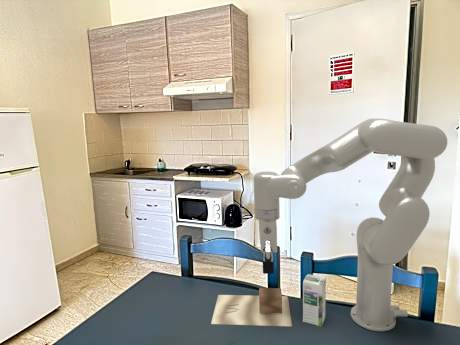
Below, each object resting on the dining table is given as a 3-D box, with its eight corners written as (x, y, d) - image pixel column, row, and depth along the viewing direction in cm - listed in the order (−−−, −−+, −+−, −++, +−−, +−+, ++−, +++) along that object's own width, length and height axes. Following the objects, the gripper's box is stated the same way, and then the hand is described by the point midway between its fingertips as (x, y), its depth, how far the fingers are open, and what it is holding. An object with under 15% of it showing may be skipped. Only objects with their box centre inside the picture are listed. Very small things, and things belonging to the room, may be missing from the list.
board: (287, 300, 110) (287, 296, 110) (291, 330, 94) (291, 326, 94) (218, 298, 112) (218, 294, 112) (211, 328, 97) (211, 323, 96)
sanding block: (281, 305, 104) (281, 288, 103) (282, 314, 100) (282, 296, 98) (259, 304, 105) (259, 288, 104) (259, 314, 100) (259, 296, 99)
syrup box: (302, 326, 96) (302, 281, 94) (307, 315, 101) (307, 272, 99) (321, 331, 93) (322, 285, 91) (325, 320, 99) (326, 276, 96)
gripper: (281, 221, 88) (281, 279, 91) (278, 204, 105) (278, 254, 108) (253, 222, 89) (255, 279, 92) (255, 205, 106) (256, 253, 109)
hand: (268, 265), depth 100 cm, fingers open, 9 cm apart
